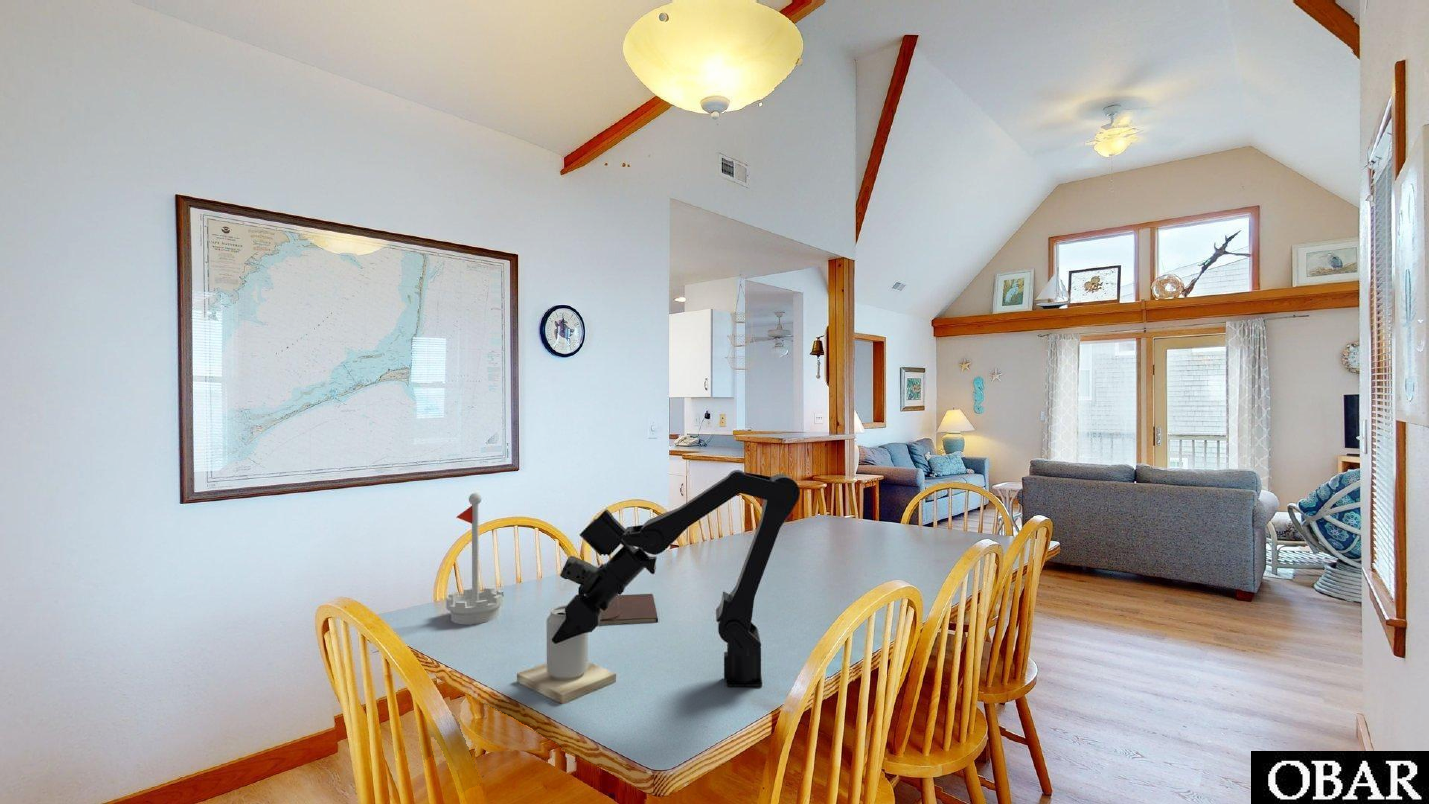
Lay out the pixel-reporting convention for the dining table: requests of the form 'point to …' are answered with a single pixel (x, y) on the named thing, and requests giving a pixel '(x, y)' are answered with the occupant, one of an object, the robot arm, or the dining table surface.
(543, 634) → the dining table surface
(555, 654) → the can
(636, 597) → the notebook
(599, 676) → the board
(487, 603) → the flag stand
